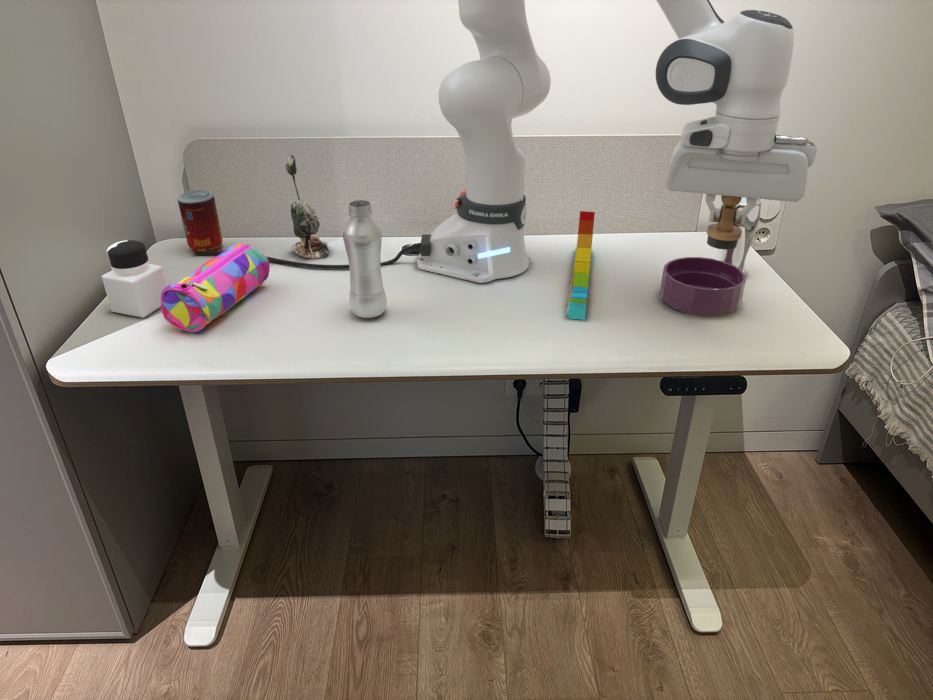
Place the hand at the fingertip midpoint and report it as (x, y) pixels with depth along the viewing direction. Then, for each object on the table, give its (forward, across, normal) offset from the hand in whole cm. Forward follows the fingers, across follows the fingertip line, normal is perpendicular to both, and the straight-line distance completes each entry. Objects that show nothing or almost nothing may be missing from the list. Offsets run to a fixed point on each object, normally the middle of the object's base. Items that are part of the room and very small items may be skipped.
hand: (726, 222), depth 110 cm
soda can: (+18, +102, -2) cm, 103 cm away
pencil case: (+18, +82, +20) cm, 87 cm away
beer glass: (+18, -4, -22) cm, 29 cm away
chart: (+18, +24, -9) cm, 31 cm away
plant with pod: (+18, +80, -6) cm, 82 cm away
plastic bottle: (+18, +56, +14) cm, 61 cm away
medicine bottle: (+18, +97, +24) cm, 101 cm away
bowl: (+18, +2, -8) cm, 20 cm away
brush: (+4, 0, 0) cm, 4 cm away
